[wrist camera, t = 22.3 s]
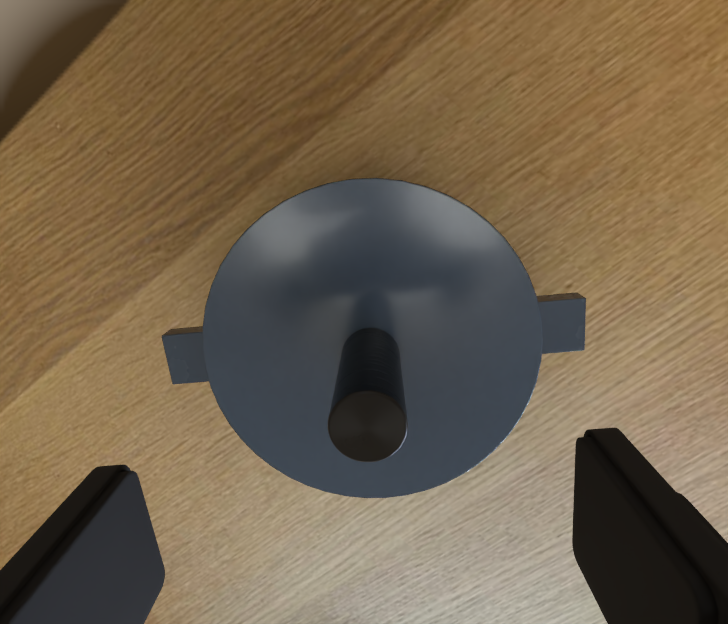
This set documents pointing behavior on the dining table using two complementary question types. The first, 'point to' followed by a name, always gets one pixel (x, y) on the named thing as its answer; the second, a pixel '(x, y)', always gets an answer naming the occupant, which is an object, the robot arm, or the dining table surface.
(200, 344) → the pot
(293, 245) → the lid
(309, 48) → the dining table surface
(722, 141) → the dining table surface
